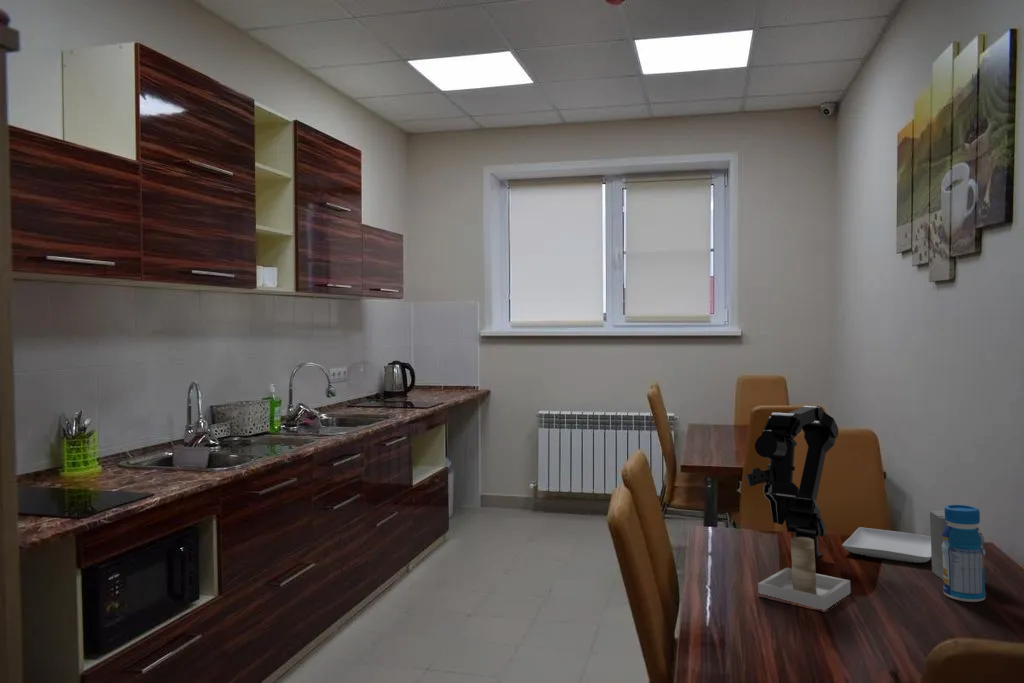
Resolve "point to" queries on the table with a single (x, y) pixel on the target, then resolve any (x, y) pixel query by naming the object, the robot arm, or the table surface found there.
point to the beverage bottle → (963, 554)
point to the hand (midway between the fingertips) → (777, 523)
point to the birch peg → (803, 564)
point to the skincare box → (937, 541)
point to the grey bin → (825, 597)
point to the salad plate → (890, 545)
